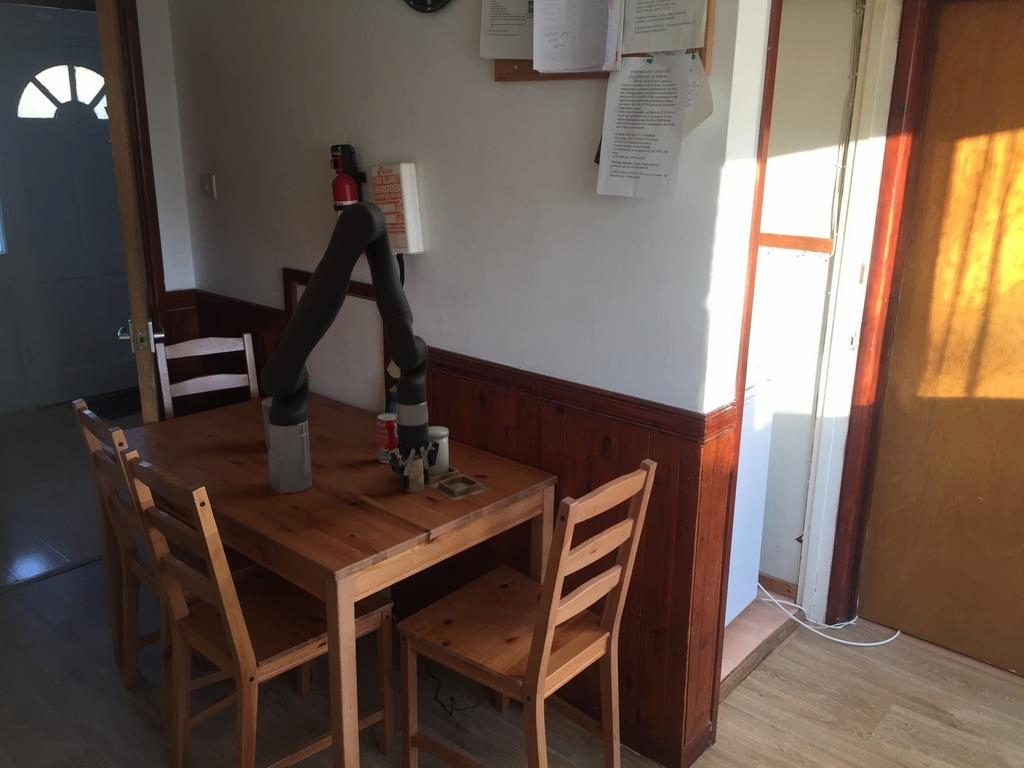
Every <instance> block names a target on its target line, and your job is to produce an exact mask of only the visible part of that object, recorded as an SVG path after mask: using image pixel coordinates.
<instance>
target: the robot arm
mask: <svg viewBox="0 0 1024 768" xmlns="http://www.w3.org/2000/svg"><path fill="white" fill-rule="evenodd" d="M363 253H364V255H365V258H366V260H367V264H368V267H369V271H370V278H371V279H370V280H371V285H372V291H373V296H374V301H375V304H376V307H377V309H378V313H379V316H380V317H381V320H382V323H383V326H384V329H385V337H386V341H387V347H388V351H389V355H390V357H391V360H392V361H393V362H394V363H395V365H396V366H397V367H399V368H400V377H399V379H398V378H397V381H396V385H395V386H396V391H397V392H396V409H395V412H396V420H397V438H398V445H397V448H396V449H394V450H393V451H390V450H389V451H387V453H386V454H387V457H388V460H389V463H390V464H389V465H390V468H391V471H392V472H393V474H394V473H395V474H396V475H398V476H399V482H400V484H399V485H400V487H401V488H402V489H403V490H405V489H406V490H407V489H409V475H408V471H409V467H410V466H411V464H412V460H413V456H414V455H417V454H420V458H422V459H423V476H424V486H426V485H425V484H427V482H428V469H429V468H430V467H431V466H435V463H436V459H437V454H438V450H439V443H437V442H436V441H433V440H432V441H429V440H428V436H429V433H428V427H429V409H428V402H427V384H426V381H427V374H428V367H429V348H428V347H429V346H428V344H427V342H426V341H425V340H424V339H423V338H422V337H421V336H419V335H416V334H414V331H413V322H414V316H413V312H412V310H411V307H410V303H409V301H408V298H407V295H406V293H405V290H404V288H403V285H402V282H401V278H400V276H399V273H398V269H397V267H396V263H395V258H394V256H393V255H394V254H393V251H392V246H391V243H390V236H389V230H388V226H387V221H386V216H385V213H384V212H383V210H382V209H381V208H380V207H379V206H378V205H377V204H375V203H374V202H370V201H360V202H354V203H351V204H348V205H347V206H345V207H344V208H343V210H342V211H341V212H340V214H339V216H338V218H337V221H336V224H335V226H334V229H333V232H332V234H331V237H330V240H329V243H328V245H327V247H326V249H325V252H324V253H323V255H322V257H321V259H320V261H319V262H318V264H317V265H316V267H315V270H314V271H313V273H312V275H311V277H310V279H309V280H308V283H307V285H306V286H305V288H304V290H303V292H302V295H301V296H300V298H299V300H298V302H297V305H296V306H295V309H294V311H293V313H292V315H291V318H290V320H289V322H288V324H287V327H286V329H285V332H284V333H283V336H282V338H281V340H280V342H279V343H278V345H277V347H276V348H275V350H274V351H273V353H272V354H271V356H270V357H269V358H268V361H267V362H266V363H265V365H264V366H263V368H262V370H261V373H260V385H261V388H262V390H263V392H264V393H265V394H266V395H267V396H269V398H271V397H273V399H272V404H271V407H270V409H269V412H268V419H269V431H270V443H271V450H270V451H269V450H267V451H268V453H267V454H268V464H269V465H268V467H269V477H270V479H269V480H270V487H271V488H272V489H273V490H275V491H276V492H278V493H279V494H280V495H281V494H290V493H291V494H294V493H300V492H303V491H306V490H308V489H309V488H311V487H312V485H313V482H312V481H313V480H312V478H313V476H312V466H311V465H312V464H311V449H310V434H309V421H308V419H309V418H308V411H309V406H310V381H309V372H308V368H307V365H306V362H307V360H308V358H309V356H310V355H311V352H312V351H313V350H314V349H315V348H316V346H317V345H318V343H320V341H321V340H322V338H323V337H324V336H325V334H326V333H327V332H328V330H329V329H330V327H331V326H332V325H333V324H334V322H335V320H336V318H337V317H338V315H339V312H340V311H341V309H342V307H343V305H344V303H345V300H346V297H347V295H348V290H349V287H350V282H351V277H352V274H353V271H354V268H355V266H356V264H357V262H358V261H359V259H360V257H361V255H362V254H363ZM427 448H428V449H429V450H428V455H427V456H426V453H425V452H426V450H427ZM399 453H400V454H401V458H400V462H398V458H399V457H398V454H399ZM404 459H405V460H407V462H405V461H404ZM406 490H405V491H406Z"/></svg>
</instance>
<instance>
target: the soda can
mask: <svg viewBox="0 0 1024 768" xmlns="http://www.w3.org/2000/svg"><path fill="white" fill-rule="evenodd" d="M375 423H376V427H375V428H376V443H377V444H376V445H377V446H376V447H377V458H378V459H377V460H378V462H380V463H382V464H387V465H388V464H389V465H390V463H389V460H388V457H387V454H386V453H387V451H389V450H390V451H393V450H394V449H396V448H397V445H398V438H397V420H396V413H395V412H390V413H388V412H386V413H382V414H380V415H378V416H377V420H376V422H375ZM398 457H399V458H398V462H399V463H400V458H401V454H400V453H399V454H398Z"/></svg>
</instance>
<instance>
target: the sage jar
mask: <svg viewBox="0 0 1024 768" xmlns="http://www.w3.org/2000/svg"><path fill="white" fill-rule="evenodd" d="M449 432H450V431H449V428H447V427H445V426H438V425H437V426H436V425H432V426H428V433H429V436H428V440H429V441H432V440H433V441H436V442H437V443H439V450H438V454H437V459H436V463H435V466H431V467H430V468H429V469H428V476H429V477H435V476H439V475H442V474H446V473H449V466H450V465H449ZM428 450H429V449H428V448H427V450H426V452H425V453H426V456H427V455H428Z"/></svg>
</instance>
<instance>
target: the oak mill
mask: <svg viewBox="0 0 1024 768" xmlns="http://www.w3.org/2000/svg"><path fill="white" fill-rule="evenodd" d="M404 461H405V462H407V460H405V459H404ZM408 475H409V489H407V490H406V489H404V491H406V492H408V493H412V494H413V493H414V494H415V493H421V492H423V491H424V489H425V485H424V476H423V459H422V458H420V454H417V455H414V456H413V460H412V464H411V466H410V467H409V471H408Z"/></svg>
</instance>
